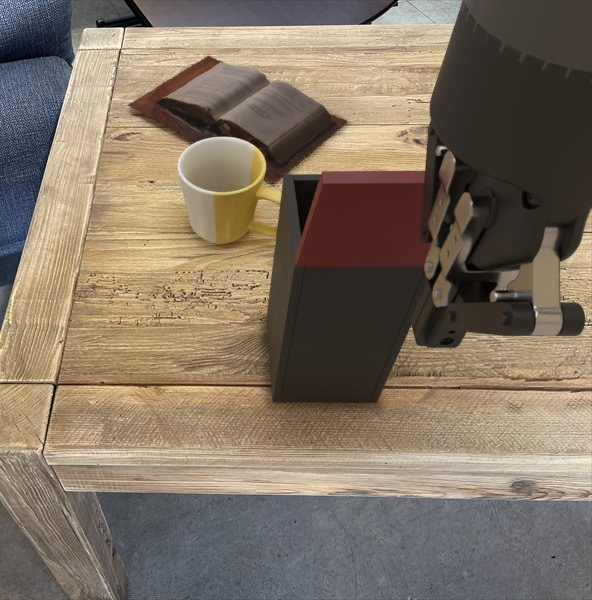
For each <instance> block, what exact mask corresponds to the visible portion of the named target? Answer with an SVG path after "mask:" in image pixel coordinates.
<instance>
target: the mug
mask: <svg viewBox="0 0 592 600" xmlns="http://www.w3.org/2000/svg"><path fill="white" fill-rule="evenodd" d="M258 148H259V147H257V146H256V145H254V144H252V143H251V142H250V143H249V142H247V141H244V140H241V139H238V138H233V137H213V138H208V139H204V140H201V141H198V142H196V141H195V142H194V143H192V144H190V145H189V146H188V147H186V148H185V149H184V150H183V151H182V152H181V153H180V156H179V158H178V160H177V163H176V164H177V165H176V167H177V168H176V169H177V174H178V175H177V176H178V179H179V183H180V187H181V191H182V195H183V199H184V203H185V207H186V211H187V216H188V219H189V223H190V227H191V229H192V230H193V232H194V233H195V234H196V235H197V236H198V237H200V238H201V239H203V240H205V241H206V242H209V243H211V244H217V245H224V244H230V243H233V242H235V241H237V240H239V239H241V238H243V236H245V235H246V234H247V233H248V232H249V231H250V232H252V233H255V234H259V235H263V236H267V237H272V238H276V234H277V226H273V225H270V224H267V223H264V222H261V221H258V220H255V219H254V217H255V213H256V210H257V206H258V203H259V200H265V201H270V202H272V203H275V204H277V205H278V206H279V207H280V201H281V193H282V191H280V190H277V189H273V188H270V187H267V186H265V185H264V180H265V178H264V177H265V172H266V161H265V158H264V156H263V154H262V153H261V152H260V150H259V149H258Z"/></svg>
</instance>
